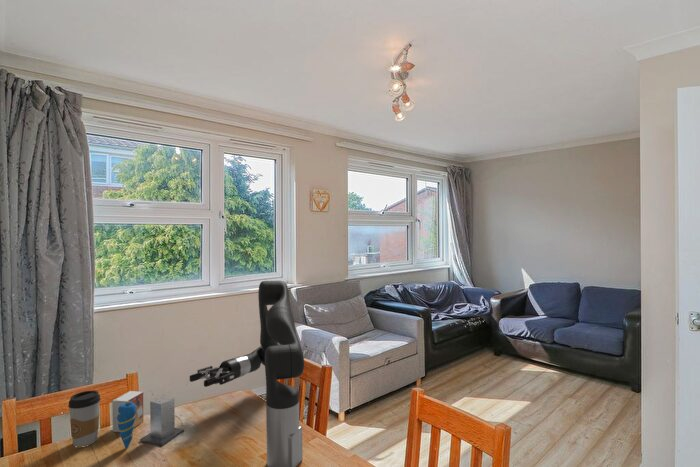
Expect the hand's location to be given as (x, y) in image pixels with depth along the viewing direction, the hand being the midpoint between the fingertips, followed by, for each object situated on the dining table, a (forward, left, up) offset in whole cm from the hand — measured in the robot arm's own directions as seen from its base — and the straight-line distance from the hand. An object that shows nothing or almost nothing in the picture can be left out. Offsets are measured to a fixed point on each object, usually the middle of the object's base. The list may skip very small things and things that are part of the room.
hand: (197, 381), depth 134 cm
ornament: (+9, +20, -14) cm, 26 cm away
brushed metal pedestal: (+4, +11, -13) cm, 18 cm away
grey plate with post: (+4, +12, -14) cm, 19 cm away
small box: (+20, +11, -14) cm, 27 cm away
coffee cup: (+24, +23, -14) cm, 36 cm away
